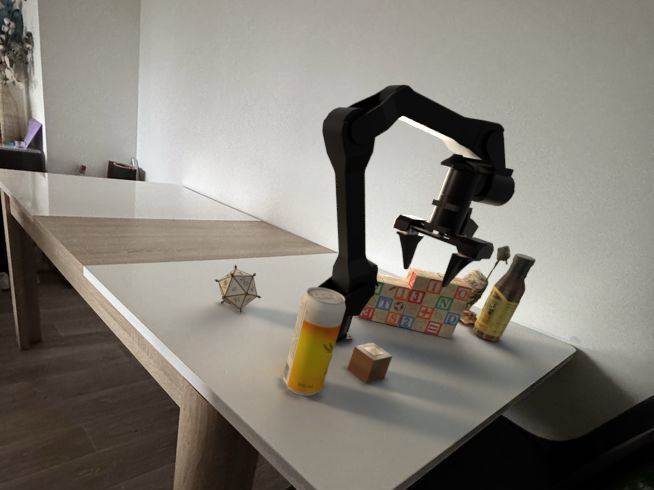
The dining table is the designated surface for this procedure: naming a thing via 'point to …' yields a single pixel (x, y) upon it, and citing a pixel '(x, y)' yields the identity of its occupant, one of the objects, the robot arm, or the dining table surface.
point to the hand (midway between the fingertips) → (423, 277)
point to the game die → (238, 288)
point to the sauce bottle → (503, 299)
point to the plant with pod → (480, 285)
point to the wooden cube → (369, 362)
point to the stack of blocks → (418, 302)
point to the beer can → (314, 340)
